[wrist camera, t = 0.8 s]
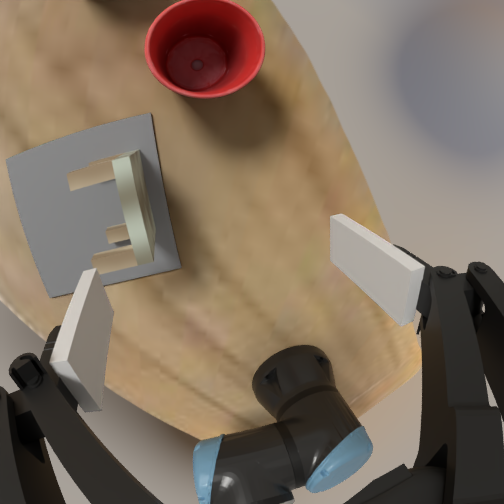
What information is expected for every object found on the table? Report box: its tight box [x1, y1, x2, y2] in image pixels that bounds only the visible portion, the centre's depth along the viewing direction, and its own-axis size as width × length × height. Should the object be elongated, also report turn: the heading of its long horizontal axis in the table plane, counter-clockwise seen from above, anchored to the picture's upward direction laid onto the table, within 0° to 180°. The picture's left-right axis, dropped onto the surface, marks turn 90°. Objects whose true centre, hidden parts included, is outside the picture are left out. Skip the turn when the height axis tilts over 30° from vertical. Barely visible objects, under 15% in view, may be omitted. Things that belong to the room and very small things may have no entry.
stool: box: [67, 149, 156, 275], centre depth 29 cm, size 10×6×10 cm, turn 7°
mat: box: [6, 113, 181, 298], centre depth 33 cm, size 20×20×1 cm
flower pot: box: [145, 0, 265, 99], centre depth 26 cm, size 11×11×10 cm
